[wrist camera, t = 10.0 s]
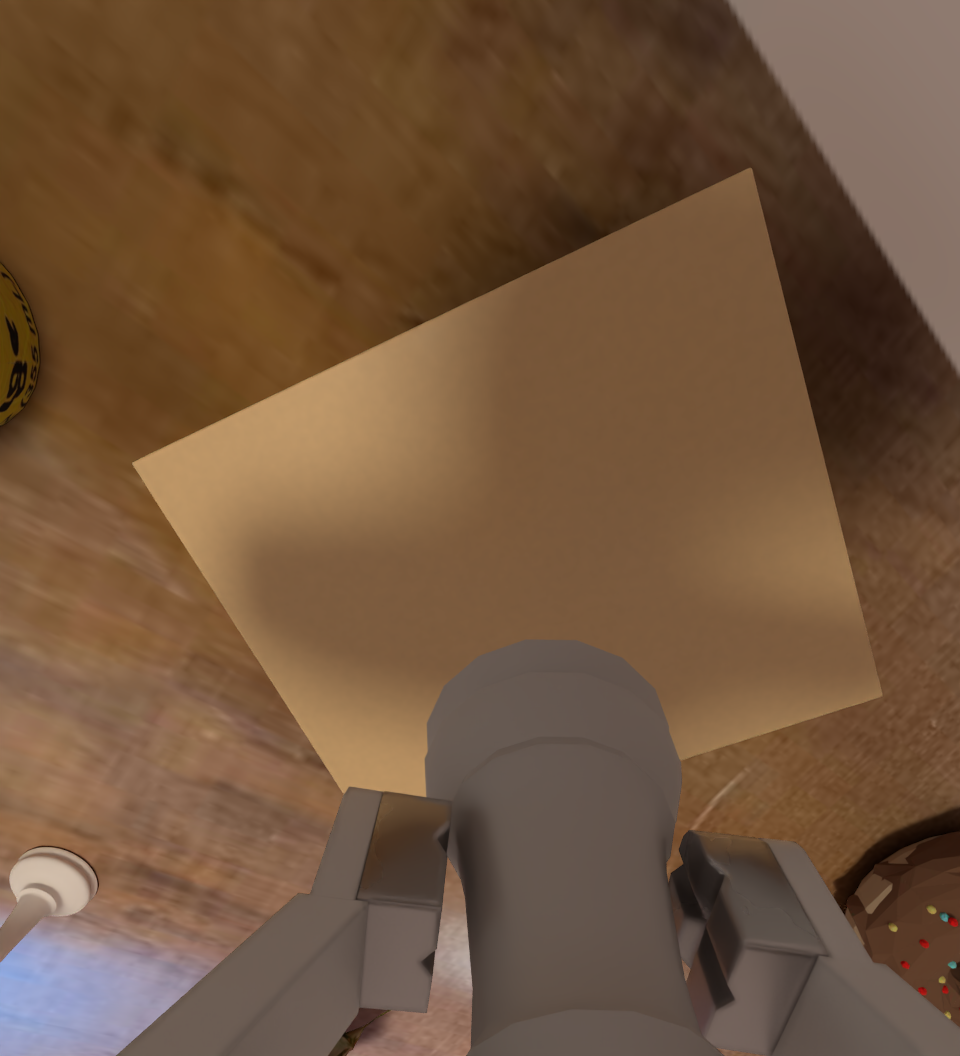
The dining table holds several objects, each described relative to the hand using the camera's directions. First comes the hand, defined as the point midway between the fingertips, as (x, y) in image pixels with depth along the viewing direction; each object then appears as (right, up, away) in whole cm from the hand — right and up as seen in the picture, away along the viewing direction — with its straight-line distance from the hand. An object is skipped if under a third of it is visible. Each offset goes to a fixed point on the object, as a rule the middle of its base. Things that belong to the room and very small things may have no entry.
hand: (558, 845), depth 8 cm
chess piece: (-27, -17, +26) cm, 41 cm away
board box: (+1, +6, +17) cm, 18 cm away
